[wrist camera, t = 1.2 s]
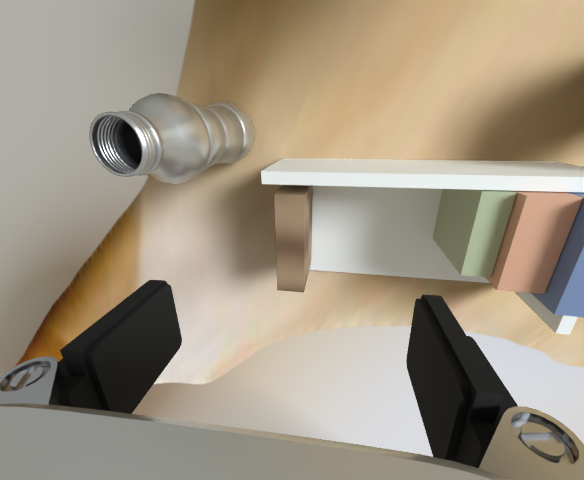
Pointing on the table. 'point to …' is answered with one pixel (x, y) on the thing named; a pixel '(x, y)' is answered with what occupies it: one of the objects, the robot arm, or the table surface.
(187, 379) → the table surface
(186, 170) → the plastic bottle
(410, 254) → the shelf
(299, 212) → the bookend
